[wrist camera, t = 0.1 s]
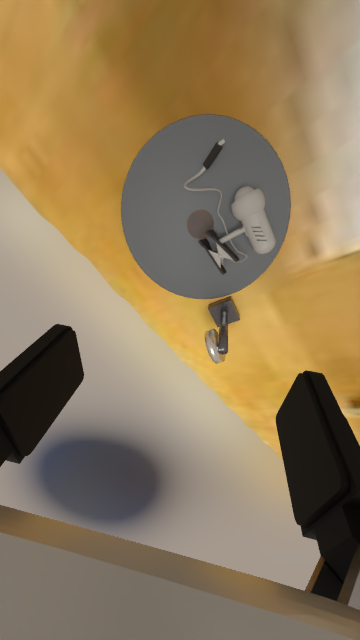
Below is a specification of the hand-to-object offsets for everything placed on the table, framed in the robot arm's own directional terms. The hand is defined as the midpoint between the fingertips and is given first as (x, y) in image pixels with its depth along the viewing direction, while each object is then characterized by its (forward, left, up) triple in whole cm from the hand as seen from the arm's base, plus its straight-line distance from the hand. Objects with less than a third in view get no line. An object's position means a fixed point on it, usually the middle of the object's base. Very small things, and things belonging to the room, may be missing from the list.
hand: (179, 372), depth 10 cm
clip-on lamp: (-1, +2, -37) cm, 37 cm away
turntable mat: (-1, -3, -37) cm, 37 cm away
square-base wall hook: (+17, -6, -37) cm, 41 cm away
